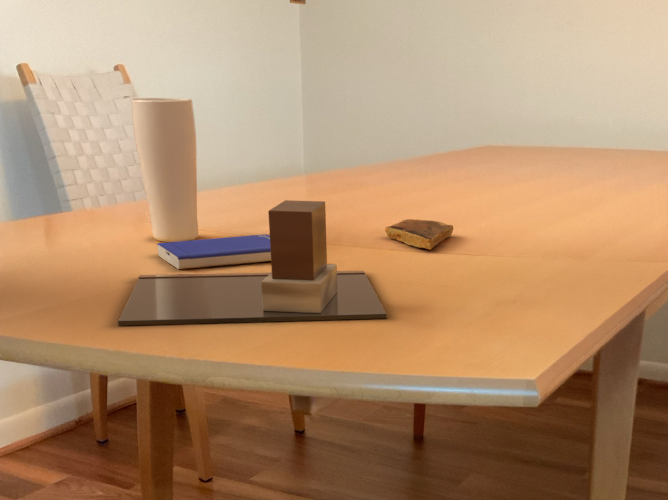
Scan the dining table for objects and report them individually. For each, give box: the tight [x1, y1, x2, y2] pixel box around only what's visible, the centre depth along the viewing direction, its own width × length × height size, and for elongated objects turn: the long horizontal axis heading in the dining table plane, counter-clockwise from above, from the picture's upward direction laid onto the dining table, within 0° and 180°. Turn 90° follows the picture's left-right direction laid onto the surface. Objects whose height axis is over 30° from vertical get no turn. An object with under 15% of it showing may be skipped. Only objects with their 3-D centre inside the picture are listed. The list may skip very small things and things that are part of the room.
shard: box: [384, 218, 454, 251], centre depth 108 cm, size 11×8×2 cm
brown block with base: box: [261, 199, 338, 313], centre depth 79 cm, size 8×5×8 cm, turn 174°
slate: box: [117, 270, 388, 327], centre depth 83 cm, size 22×17×1 cm
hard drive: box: [156, 233, 271, 270], centre depth 99 cm, size 2×8×12 cm
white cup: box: [130, 97, 199, 243], centre depth 105 cm, size 7×7×15 cm
